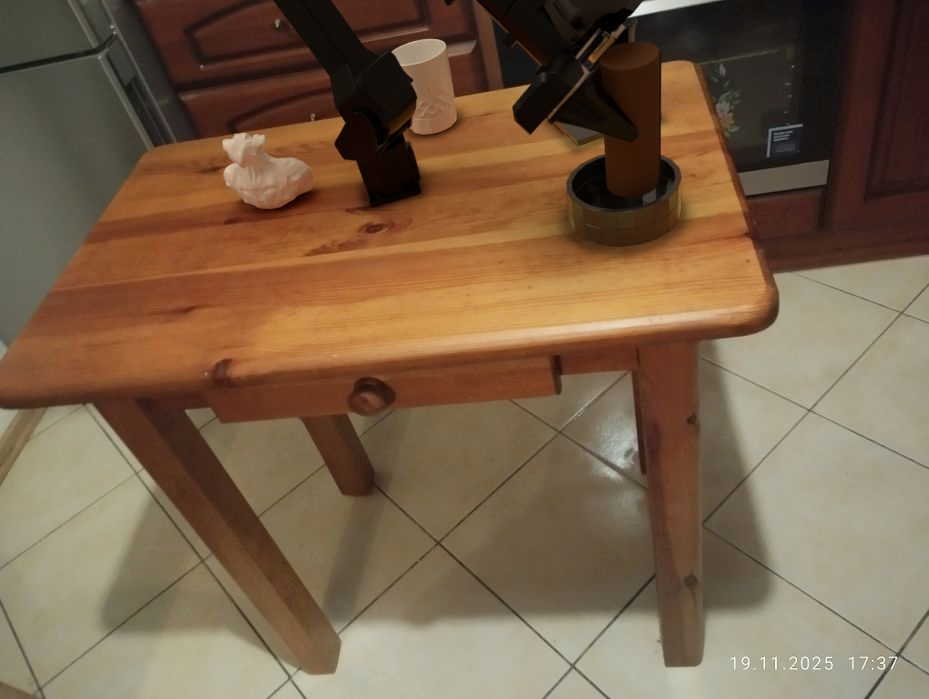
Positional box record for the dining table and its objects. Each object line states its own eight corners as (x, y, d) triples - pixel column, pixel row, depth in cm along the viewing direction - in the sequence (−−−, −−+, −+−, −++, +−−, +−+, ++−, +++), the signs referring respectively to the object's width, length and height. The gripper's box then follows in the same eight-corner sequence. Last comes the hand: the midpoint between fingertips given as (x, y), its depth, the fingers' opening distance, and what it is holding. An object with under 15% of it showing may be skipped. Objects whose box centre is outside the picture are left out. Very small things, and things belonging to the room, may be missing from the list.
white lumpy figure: (242, 219, 91) (187, 191, 80) (246, 164, 92) (191, 129, 81) (324, 213, 88) (278, 183, 77) (326, 157, 88) (281, 119, 78)
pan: (591, 262, 66) (588, 224, 63) (556, 205, 75) (551, 169, 71) (699, 229, 67) (701, 190, 64) (652, 176, 75) (652, 139, 72)
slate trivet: (577, 149, 82) (577, 140, 81) (544, 114, 90) (543, 106, 89) (661, 121, 83) (661, 112, 82) (621, 89, 91) (621, 80, 90)
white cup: (398, 123, 97) (378, 53, 90) (448, 103, 98) (432, 33, 91) (418, 143, 91) (399, 71, 84) (470, 122, 92) (455, 49, 86)
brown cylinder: (617, 203, 65) (611, 75, 56) (599, 177, 69) (590, 52, 60) (668, 187, 65) (671, 56, 56) (648, 162, 69) (646, 35, 60)
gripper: (527, -37, 48) (681, 118, 50) (617, -117, 58) (741, 15, 61) (455, 70, 57) (588, 196, 59) (544, -16, 67) (654, 95, 70)
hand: (646, 122), depth 62 cm, fingers closed on brown cylinder, 5 cm apart
